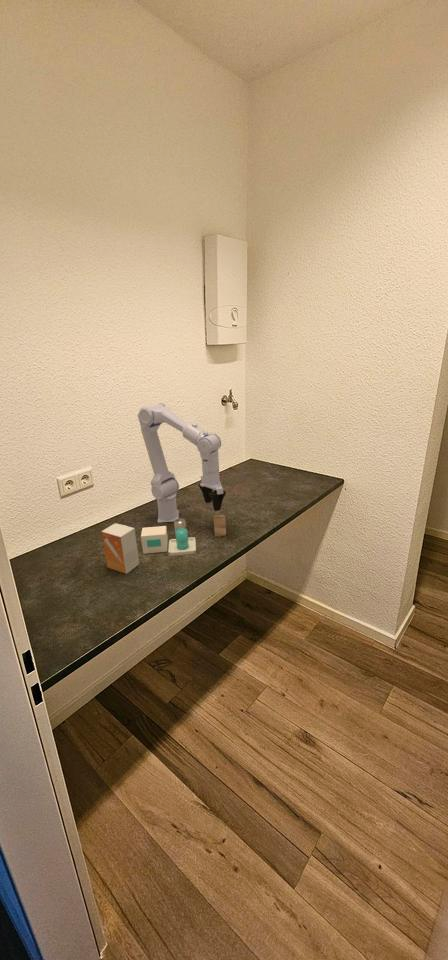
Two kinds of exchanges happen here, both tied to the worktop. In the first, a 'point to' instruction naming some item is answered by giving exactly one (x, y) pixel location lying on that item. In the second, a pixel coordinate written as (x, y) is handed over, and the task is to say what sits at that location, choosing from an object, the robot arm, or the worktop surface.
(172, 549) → the tray
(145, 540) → the block
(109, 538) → the small box
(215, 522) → the oak block
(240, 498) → the worktop surface
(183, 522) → the cylinder
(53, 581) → the worktop surface
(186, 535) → the cylinder
